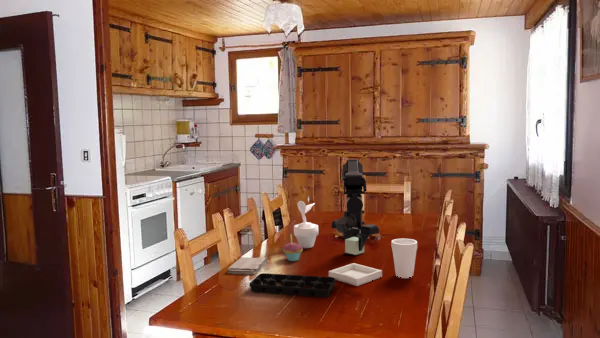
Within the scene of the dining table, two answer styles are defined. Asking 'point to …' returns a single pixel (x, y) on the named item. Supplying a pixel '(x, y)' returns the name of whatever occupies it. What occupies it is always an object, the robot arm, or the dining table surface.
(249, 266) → the washcloth
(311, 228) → the potted plant
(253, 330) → the dining table surface
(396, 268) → the foam cup
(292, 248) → the cupcake
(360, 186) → the robot arm
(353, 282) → the tray
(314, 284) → the egg carton
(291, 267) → the dining table surface
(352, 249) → the cube
